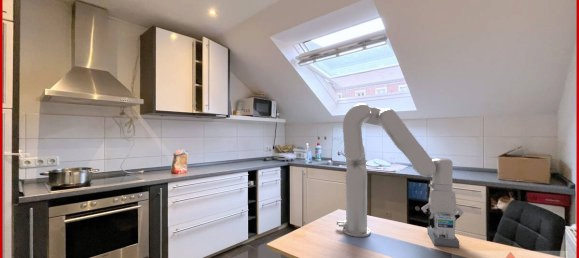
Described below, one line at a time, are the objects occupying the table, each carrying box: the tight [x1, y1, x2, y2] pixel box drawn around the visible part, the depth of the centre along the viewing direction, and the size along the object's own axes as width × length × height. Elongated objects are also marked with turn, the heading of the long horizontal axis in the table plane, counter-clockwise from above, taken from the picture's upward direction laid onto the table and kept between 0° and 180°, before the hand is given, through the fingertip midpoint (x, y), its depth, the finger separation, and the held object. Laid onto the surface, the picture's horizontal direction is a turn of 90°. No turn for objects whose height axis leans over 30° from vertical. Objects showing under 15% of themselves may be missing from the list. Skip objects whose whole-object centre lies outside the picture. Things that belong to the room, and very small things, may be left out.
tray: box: [426, 226, 460, 249], centre depth 114 cm, size 9×13×3 cm
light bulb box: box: [429, 214, 456, 240], centre depth 114 cm, size 11×7×11 cm, turn 168°
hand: (441, 227), depth 114 cm, fingers closed on light bulb box, 7 cm apart
